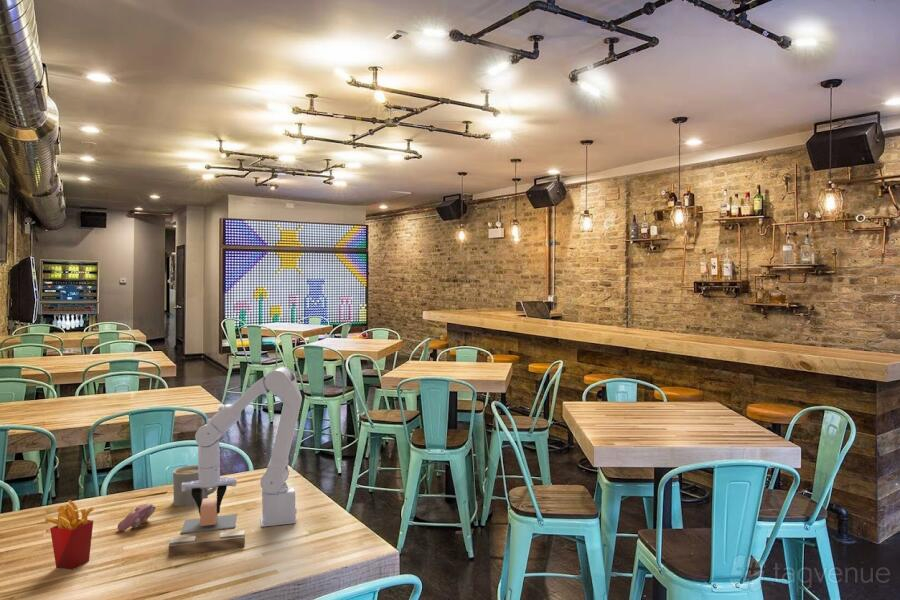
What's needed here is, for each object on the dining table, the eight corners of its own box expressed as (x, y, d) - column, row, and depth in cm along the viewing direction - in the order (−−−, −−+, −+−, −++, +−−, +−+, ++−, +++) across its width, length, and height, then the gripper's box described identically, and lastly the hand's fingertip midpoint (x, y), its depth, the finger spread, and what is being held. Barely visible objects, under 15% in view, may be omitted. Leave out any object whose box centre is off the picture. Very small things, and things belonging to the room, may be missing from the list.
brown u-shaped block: (244, 540, 161) (244, 529, 161) (244, 546, 157) (244, 535, 157) (171, 549, 156) (170, 538, 156) (168, 556, 152) (168, 544, 152)
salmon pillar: (218, 514, 177) (217, 497, 177) (215, 524, 169) (215, 506, 169) (203, 515, 176) (203, 498, 176) (200, 526, 168) (200, 508, 168)
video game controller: (127, 538, 168) (137, 516, 167) (114, 529, 168) (124, 507, 168) (151, 524, 177) (160, 503, 177) (139, 516, 178) (148, 496, 177)
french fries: (95, 559, 151) (94, 499, 150) (67, 574, 142) (66, 511, 142) (66, 556, 153) (64, 497, 152) (36, 571, 144) (35, 508, 144)
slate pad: (236, 515, 180) (236, 514, 180) (234, 528, 170) (234, 526, 170) (185, 521, 175) (185, 519, 175) (180, 534, 166) (180, 532, 166)
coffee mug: (166, 505, 189) (166, 473, 189) (187, 494, 198) (186, 464, 198) (204, 508, 186) (204, 475, 186) (223, 497, 195) (223, 466, 195)
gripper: (236, 459, 179) (237, 505, 180) (183, 464, 175) (184, 511, 175) (235, 466, 173) (236, 513, 173) (180, 471, 168) (180, 519, 169)
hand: (209, 513), depth 174 cm, fingers closed on salmon pillar, 4 cm apart
